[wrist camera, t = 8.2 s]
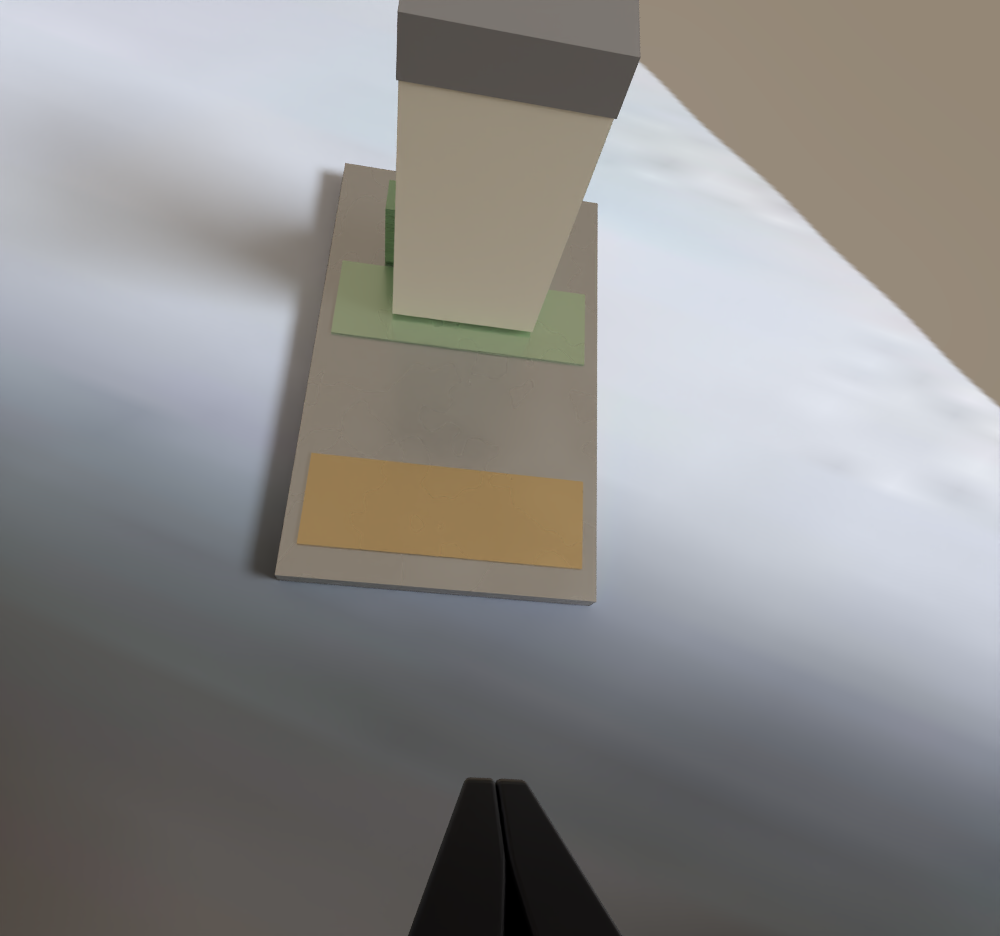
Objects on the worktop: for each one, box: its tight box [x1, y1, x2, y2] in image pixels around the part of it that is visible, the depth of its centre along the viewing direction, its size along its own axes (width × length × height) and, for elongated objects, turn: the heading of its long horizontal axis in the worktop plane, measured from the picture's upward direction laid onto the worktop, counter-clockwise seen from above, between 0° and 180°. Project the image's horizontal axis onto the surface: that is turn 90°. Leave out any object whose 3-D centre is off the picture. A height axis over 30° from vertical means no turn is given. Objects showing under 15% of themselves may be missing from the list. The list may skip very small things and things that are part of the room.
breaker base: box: [275, 163, 598, 606], centre depth 23 cm, size 16×10×4 cm, turn 177°
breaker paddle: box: [392, 0, 640, 332], centre depth 20 cm, size 2×5×11 cm, turn 87°
